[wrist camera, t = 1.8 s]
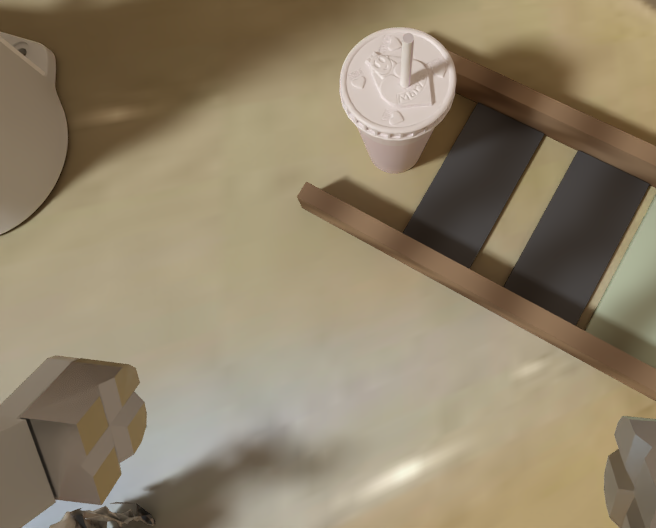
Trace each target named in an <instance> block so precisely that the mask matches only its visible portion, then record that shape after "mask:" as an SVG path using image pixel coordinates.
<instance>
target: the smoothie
mask: <svg viewBox="0 0 656 528" xmlns="http://www.w3.org/2000/svg"><path fill="white" fill-rule="evenodd" d="M455 87H456V70H455V66H454V63H453V60H452V58H451V56H450V54H449V52H448V51H447V50H446V48H445V47H444V46H443V45H442V44H441V43H440V42H439V41H438V40H437V39H435V38H434V37H432V36H431V35H429V34H427V33H425V32H423V31H420V30H417V29H412V28H406V27H394V28H387V29H383V30H380V31H377V32H374V33H372V34H370V35H368V36H367V37H365V38H364V39H362V40H361V41H360V42H358V43H357V44H356V45H355V46H354V47H353V49H352V50H351V51H350V52H349V54H348V55H347V57H346V59H345V61H344V63H343V66H342V69H341V74H340V97H341V102H342V106H343V108H344V110H345V112H346V114H347V116H348V117H349V119H350V120H351V121H352V122H353V123H354V124H355V125H356V126H357V127H358V130H359V132H360V134H361V137H362V139H363V142H364V144H365V146H366V149H367V151H368V153H369V156H370V158H371V160H372V162H373V163H374V165H375V166H376V167H378V168H379V169H380V170H382V171H384V172H388V173H401V172H405V171H407V170H409V169H410V168H412V167H413V166H414V165H415V164H416V163H417V161H418V159H419V157H420V155H421V153H422V152H423V150H424V148H425V146H426V144H427V142H428V140H429V138H430V136H431V134H432V132H433V130H434V128H435V126H437V125H438V124H439V123H440V122H441V121H442V120H443V119H444V117H445V116H446V114H447V113H448V111H449V110H450V108H451V105H452V102H453V99H454V96H455Z"/></svg>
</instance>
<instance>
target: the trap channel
mask: <svg viewBox="0 0 656 528" xmlns="http://www.w3.org/2000/svg"><path fill="white" fill-rule="evenodd" d="M447 51H448V52H449V54H450V56H451V58H452V60H453V63H454V66H455V70H456V87H455V92H456V93H458V94H460V95H462V96H464V97H466V98H468V99H470V100H472V101H475V102H477V103H478V104H477V105H476V107H475V109H474V111H473V112H472V114H471V116H470V117H469V119H468V121H467V123H466V124H465V126H464V128H463V130H462V131H461V133H460V135H459V137H458V138H457V140H456V142H455V143H454V145H453V147H452V149H451V150H450V152H449V154H448V156H447V157H446V159H445V161H444V162H443V164H442V166H441V168H440V169H439V171H438V173H437V175H436V176H435V178H434V180H433V181H432V183H431V185H430V187H429V188H428V190H427V192H426V194H425V195H424V197H423V199H422V200H421V202H420V204H419V206H418V207H417V209H416V211H415V213H414V214H413V216H412V218H411V219H410V221H409V223H408V225H407V226H406V228H405V230H404V232H403V233H401V232H399V231H397V230H396V229H394V228H392V227H390V226H388V225H386V224H384V223H383V222H381V221H379V220H377V219H375V218H373V217H371V216H369V215H368V214H366V213H364V212H362V211H360V210H358V209H356V208H355V207H353V206H351V205H349V204H347V203H345V202H343V201H342V200H340V199H338V198H336V197H334V196H332V195H330V194H328V193H327V192H325V191H323V190H321V189H319V188H317V187H315V186H314V185H312V184H310V183H308V182H306V183H305V185H304V186H303V188H302V190H301V191H300V193H299V194H298V196H297V198H298V200H299V202H300V204H301V206H302V208H303V209H305V210H307V211H309V212H311V213H313V214H314V215H316V216H318V217H320V218H322V219H324V220H325V221H327V222H329V223H331V224H333V225H335V226H336V227H338V228H340V229H342V230H344V231H346V232H347V233H349V234H351V235H353V236H355V237H357V238H358V239H360V240H362V241H364V242H366V243H368V244H369V245H371V246H373V247H375V248H377V249H379V250H380V251H382V252H384V253H386V254H388V255H389V256H391V257H393V258H395V259H397V260H399V261H400V262H402V263H404V264H406V265H408V266H410V267H411V268H413V269H415V270H417V271H419V272H421V273H422V274H424V275H426V276H428V277H430V278H432V279H433V280H435V281H437V282H439V283H441V284H443V285H444V286H446V287H448V288H450V289H452V290H454V291H455V292H457V293H459V294H461V295H463V296H464V297H466V298H468V299H470V300H472V301H474V302H475V303H477V304H479V305H481V306H483V307H485V308H486V309H488V310H490V311H492V312H494V313H496V314H497V315H499V316H501V317H503V318H505V319H507V320H508V321H510V322H512V323H514V324H516V325H518V326H519V327H521V328H523V329H525V330H527V331H529V332H530V333H532V334H534V335H536V336H538V337H539V338H541V339H543V340H545V341H547V342H549V343H550V344H552V345H554V346H556V347H558V348H560V349H561V350H563V351H565V352H567V353H569V354H571V355H572V356H574V357H576V358H578V359H580V360H582V361H583V362H585V363H587V364H589V365H591V366H593V367H594V368H596V369H598V370H600V371H602V372H604V373H605V374H607V375H609V376H611V377H613V378H614V379H616V380H618V381H620V382H622V383H624V384H625V385H627V386H629V387H631V388H633V389H635V390H636V391H638V392H640V393H642V394H644V395H646V396H647V397H649V398H651V399H653V400H655V401H656V195H655V197H654V199H653V201H652V203H651V205H650V206H649V208H648V210H647V212H646V214H645V216H644V218H643V220H642V222H641V224H640V226H639V228H638V230H637V231H636V233H635V235H634V237H633V239H632V241H631V243H630V245H629V247H628V249H627V251H626V253H625V254H624V256H623V258H622V260H621V262H620V264H619V266H618V268H617V270H616V272H615V274H614V276H613V277H612V279H611V281H610V283H609V285H608V287H607V289H606V291H605V293H604V295H603V297H602V299H601V300H600V302H599V304H598V306H597V308H596V310H595V312H594V314H593V316H592V318H591V320H590V322H589V323H588V325H587V327H586V329H585V331H584V330H582V329H580V328H578V327H577V326H576V324H577V322H578V320H579V318H580V316H581V314H582V312H583V310H584V309H585V307H586V305H587V303H588V301H589V299H590V297H591V295H592V293H593V291H594V289H595V288H596V286H597V284H598V282H599V280H600V278H601V276H602V274H603V272H604V270H605V269H606V267H607V265H608V263H609V261H610V259H611V257H612V255H613V253H614V251H615V249H616V248H617V246H618V244H619V242H620V240H621V238H622V236H623V234H624V232H625V230H626V228H627V227H628V225H629V223H630V221H631V219H632V217H633V215H634V213H635V211H636V209H637V207H638V206H639V204H640V202H641V200H642V198H643V196H644V194H645V192H646V190H647V188H648V187H649V185H651V186H653V187H655V188H656V146H654V145H652V144H650V143H648V142H646V141H643V140H641V139H639V138H637V137H635V136H633V135H630V134H628V133H626V132H624V131H622V130H620V129H617V128H615V127H613V126H611V125H609V124H607V123H604V122H602V121H600V120H598V119H596V118H594V117H591V116H589V115H587V114H585V113H583V112H581V111H578V110H576V109H574V108H572V107H570V106H568V105H566V104H563V103H561V102H559V101H557V100H555V99H553V98H550V97H548V96H546V95H544V94H542V93H540V92H537V91H535V90H533V89H531V88H529V87H527V86H524V85H522V84H520V83H518V82H516V81H514V80H511V79H509V78H507V77H505V76H503V75H501V74H498V73H496V72H494V71H492V70H490V69H488V68H485V67H483V66H481V65H479V64H477V63H475V62H472V61H470V60H468V59H466V58H464V57H462V56H459V55H457V54H455V53H453V52H451V51H449V50H447ZM544 135H546V136H548V137H550V138H552V139H554V140H556V141H559V142H561V143H563V144H565V145H567V146H569V147H571V148H573V149H575V150H578V152H577V153H576V155H575V157H574V159H573V161H572V163H571V164H570V166H569V168H568V170H567V172H566V174H565V175H564V177H563V179H562V181H561V183H560V184H559V186H558V188H557V190H556V192H555V194H554V195H553V197H552V199H551V201H550V203H549V205H548V206H547V208H546V210H545V212H544V214H543V216H542V217H541V219H540V221H539V223H538V225H537V227H536V228H535V230H534V232H533V234H532V236H531V238H530V239H529V241H528V243H527V245H526V247H525V249H524V250H523V252H522V254H521V256H520V258H519V260H518V261H517V263H516V265H515V267H514V269H513V270H512V272H511V274H510V276H509V278H508V280H507V281H506V283H505V285H504V287H502V286H500V285H498V284H496V283H495V282H493V281H491V280H489V279H487V278H485V277H483V276H481V275H480V274H478V273H476V272H474V271H472V270H470V269H469V268H470V267H471V265H472V263H473V261H474V259H475V258H476V256H477V254H478V252H479V250H480V249H481V247H482V245H483V243H484V241H485V240H486V238H487V236H488V234H489V233H490V231H491V229H492V227H493V225H494V224H495V222H496V220H497V218H498V216H499V215H500V213H501V211H502V209H503V207H504V206H505V204H506V202H507V200H508V198H509V197H510V195H511V193H512V191H513V189H514V188H515V186H516V184H517V182H518V180H519V179H520V177H521V175H522V173H523V172H524V170H525V168H526V166H527V164H528V163H529V161H530V159H531V157H532V155H533V154H534V152H535V150H536V148H537V146H538V145H539V143H540V141H541V139H542V137H543V136H544Z"/></svg>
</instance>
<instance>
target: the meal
mask: <svg viewBox="0 0 656 528" xmlns="http://www.w3.org/2000/svg"><path fill="white" fill-rule="evenodd" d="M110 504H126V503H122V502H115V503H110ZM136 507H137V516H134V515H133V512H132V509H131V510H129V511H126V512H123V513H120V514H119V513H112V512H111V511H109V509H108V508H107V507H106V506H105V507H102V508H100V509H97V510H95V511H90V510H88V511H81V510H80V509H81V508H80V509H77V510H74V511H72V512H66V513H65V515H64V517H63V518H62V520H61V521H60V522H58V523H56V524H53V525H51V526H50V527H49V528H107V522H108V521H113V520H114V521H116V522H117V523H118V524H119V526H120V527H121V528H122V523H124V524H128V522H129V521H131V520H134V521H136V522H137V521H139V520H141V521H142V522H144V523H146V524H148V525H154V524H155V521H154V519H153V518H152V516H151V514H149V513H148V512H147V511H145V510H144V509H143V508H142V507H140V506H139V505H138V504H137V503H136ZM85 518H86V519H85Z"/></svg>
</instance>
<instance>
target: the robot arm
mask: <svg viewBox="0 0 656 528" xmlns="http://www.w3.org/2000/svg"><path fill="white" fill-rule="evenodd" d="M24 54H26V56H24ZM55 78H56V60H55V56H54V54H53V52H52V51H51V50H49V49H48V48H47V47H45V46H44V45H43V44H41V43H39V42H35V41H32V40H28V39H25V38H21V37H18V36H14V35H11V34H7V33H4V32H0V234H2V233H5V232H7V231H9V230H10V229H12V228H14V227H15V226H17V225H19V224H20V223H21V222H23V221H24V220H25V219H27V218H28V217H29V216H30V215H31V214H32V213H33V212H35V211H36V210H37V209H38V207H39V206H40V205H41V204H42V203H43V202H44V200H45V199H46V198H47V197H48V195H49V194H50V192H51V191H52V189H53V187H54V186H55V184H56V182H57V180H58V178H59V176H60V173H61V171H62V168H63V165H64V162H65V157H66V152H67V145H68V129H67V121H66V117H65V113H64V110H63V107H62V105H61V102H60V100H59V98H58V95H57V92H56V88H55ZM139 383H140V381H139V378H138V374H137V371H136V368H135V367H133V366H131V365H129V364H122V363H114V362H106V361H99V360H91V359H83V358H80V359H78V358H71V357H64V356H53V357H50V358H47V359H46V360H45V361H44V362H43V363H42V364H41V365H40V366H39V367H38V368H37V369H36V370H35V371H34V372H33V373H32V374H31V375H30V376H29V377H28V378H27V379H26V380H25V381H24V382H23V383H22V384H21V385H20V386H19V387H18V388H17V389H16V390H15V391H14V392H13V393H12V394H11V395H10V396H9V397H8V398H7V399H6V400H5V401H4V402H3V403H2V404H1V405H0V528H21V527H23V526H24V525H25V524H27V523H28V522H29V521H31V520H32V519H33V518H35V517H36V516H38V515H39V514H40V513H42V512H43V511H44V510H46V509H47V508H49V507H50V506H51V505H53V504H54V503H55V502H56V501H55V500H64V501H72V502H80V503H89V504H97V505H102V504H103V502H104V501H105V499H106V497H107V496H108V494H109V493H110V491H111V490H112V488H113V486H114V485H115V483H116V482H117V480H118V479H119V477H120V476H121V468H120V462H122V461H124V460H125V459H127V458H129V457H130V456H132V455H134V453H135V452H136V450H137V448H138V447H139V445H140V443H141V442H142V439H143V435H144V432H145V428H146V418H147V412H146V408H145V403H144V401H143V400H142V399H141V398H140V397H139V396H138V395H137V394H136V393H135V392H134V391H135V389H136V388H137V386H138V385H139ZM614 435H615V438H616V442H617V445H618V448H619V449H618V450H616V451H615V452H613V453H612V454H610V455H609V456H608V460H607V464H606V468H605V474H604V493H605V500H606V506H607V509H608V513H609V517H610V519H611V520H612V521H613V522H615V523H616V524H617V525H618V526H619V527H620V528H656V419H650V418H639V417H629V416H622V418H621V419H620V420H619V422H618V424H617V428H616V431H615V434H614Z"/></svg>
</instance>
